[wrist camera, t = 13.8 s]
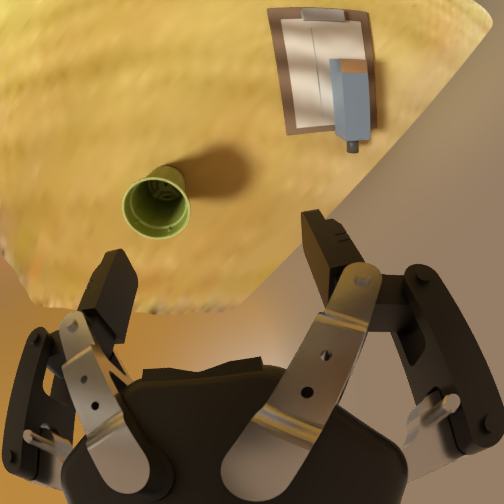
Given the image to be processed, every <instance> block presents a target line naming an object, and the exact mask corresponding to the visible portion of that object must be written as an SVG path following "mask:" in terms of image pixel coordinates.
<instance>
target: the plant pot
mask: <svg viewBox="0 0 504 504" xmlns="http://www.w3.org/2000/svg"><path fill="white" fill-rule="evenodd" d="M151 181H153V188H152V187H151ZM165 183H167V186H165V185H164V184H165ZM163 196H171V198H164V197H163ZM122 210H123V215H124V218H125V220H126V222H127V223H128V225H129V226H130V227H131V228H132V229H133V230H134V231H135V232H137V233H138V234H140V235H142V236H144V237H147V238H150V239H167V238H170V237H173V236H175V235H177V234H178V233H180V232H181V231H182V230H183V229H184V228H185V227H186V226H187V224H188V222H189V219H190V215H191V206H190V202H189V199H188V197H187V195H186V193H185V180H184V177H183V175H182V174H181V173H180V172H179V171H178V170H176V169H175V168H173V167H170V166H161V167H158V168H156V169H155V170H153V171H152V172H151V173H150V174H149V175H148V176H147V177H146V178H143V179H140V180H138V181H137V182H135V183H134V184H132V185H131V186H130V187H129V188H128V190H127V191H126V193H125V195H124V198H123V202H122Z"/></svg>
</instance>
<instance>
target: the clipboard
mask: <svg viewBox="0 0 504 504" xmlns="http://www.w3.org/2000/svg"><path fill="white" fill-rule="evenodd" d="M267 13H268V18H269V24H270V29H271V34H272V40H273V46H274V51H275V57H276V63H277V70H278V76H279V82H280V89H281V96H282V103H283V110H284V118H285V125H286V133H287V136H289V135H296V134H305V133H314V132H324V131H335V119H334V105H333V93H332V82H331V73H330V64H329V59H362V60H367V69H368V82H369V99H370V128H377V109H376V87H375V73H374V61H373V52H372V43H371V36H370V29H369V23H368V17H367V12H363V11H355V10H346V9H334V8H314V7H289V8H268V9H267Z"/></svg>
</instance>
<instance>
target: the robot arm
mask: <svg viewBox="0 0 504 504" xmlns="http://www.w3.org/2000/svg"><path fill="white" fill-rule="evenodd" d="M301 227H302V242H303V249H304V253H305V256H306V259H307V261H308V264H309V266H310V269H311V272H312V274H313V277H314V279H315V282H316V284H317V287H318V290H319V293H320V295H321V298H322V301H323V304H324V306H325V311H324V312H323V313H322V312H319V313H318V315H317V316H316V317H315V319H314V321H313V323H312V325H311V327H310V329H309V331H308V332H307V334H306V336H305V338H304V340H303V342H302V344H301V345H300V347H299V349H298V351H297V352H296V354H295V356H294V358H293V359H292V361H291V363H290V365H289V366H288V368H287V369H284V368H281V367H277V366H272V365H263V362H262V359H261V357H255V358H249V359H243V360H236V361H230V362H226V363H224V364H221V365H218V366H215V367H213V368H210V369H207V370H205V371H201V372H192V371H185V370H179V369H173V368H157V369H143V375H142V378H141V379H138V380H136V381H134V382H133V380H132V379H131V377H130V376H129V374H128V372H127V371H126V369H125V367H124V365H123V363H122V362H121V360H120V358H119V356H118V354H117V353H116V351H115V350H114V349H113V347H114V344H123V343H124V342H125V337H126V332H127V328H128V323H129V319H130V315H131V311H132V307H133V303H134V299H135V295H136V292H137V288H138V278H137V274H136V272H135V270H134V269H133V267H132V265H131V263H130V261H129V259H128V257H127V256H126V254H125V252H124V251H123V250H122V249H117V250H112V251H108V252H106V253H105V255H104V257H103V259H102V262H101V264H100V265H99V266H98V267H97V268H96V269H95V271H94V272H93V273H92V276H91V278H90V280H89V281H90V282H88V285H87V287H86V288H87V289H85V292H84V294H83V297H82V299H81V302H80V304H79V307H78V309H77V311H74V312H72V313H70V314H68V315H67V316H66V317H65V318H64V319H63V320H62V322H61V324H60V327H59V330H57V331H55V332H53V333H50V334H49V333H48V332H47V331H46V330H45V328H43V327H38V328H36V329H34V330H33V331H32V332H31V334H30V335H29V337H28V339H27V341H26V344H25V347H24V350H23V353H22V356H21V359H20V363H19V366H18V370H17V373H16V377H15V380H14V384H13V389H12V393H11V397H10V401H9V406H8V411H7V417H6V423H5V430H4V437H3V446H2V461H3V464H4V467H5V468H6V470H7V471H8V472H9V473H12V474H14V475H16V476H19V477H21V478H24V479H25V480H27V481H30V482H33V483H35V484H38V485H42V486H45V487H51V488H54V489H58V490H62V491H63V492H64V494H65V497H66V499H67V502H68V504H400V503H401V499H402V496H403V493H404V490H405V487H406V484H407V483H408V482H410V481H412V480H415V479H417V478H420V477H422V476H424V475H427V474H429V473H431V472H433V471H435V470H437V469H439V468H441V467H443V466H445V465H447V464H449V463H451V462H454V461H457V460H460V459H463V458H465V457H468V456H470V455H473V454H476V453H478V452H480V451H483V450H485V449H487V448H489V447H491V446H494V445H495V444H496V443H497V442H499V440H500V439H501V438H502V436H503V434H504V406H503V403H502V400H501V397H500V395H499V392H498V389H497V387H496V384H495V382H494V379H493V377H492V374H491V372H490V369H489V367H488V365H487V362H486V360H485V358H484V356H483V354H482V352H481V350H480V348H479V346H478V343H477V341H476V339H475V337H474V335H473V334H472V332H471V330H470V328H469V326H468V324H467V322H466V320H465V318H464V317H463V315H462V313H461V311H460V310H459V308H458V306H457V304H456V303H455V301H454V299H453V298H452V296H451V294H450V293H449V291H448V290H447V288H446V286H445V285H444V283H443V282H442V280H441V278H440V277H439V275H438V274H437V273H436V271H435V270H433V269H432V268H430V267H429V266H426V265H422V264H414V265H411V266H409V267H408V268H407V269H406V271H405V273H404V275H385V274H381V272H380V271H379V269H378V268H376V267H375V266H373V265H371V264H369V263H365V261H364V259H363V258H362V256H361V255H360V253H359V251H358V250H357V248H356V247H355V245H354V243H353V242H352V240H351V239H350V237H349V235H348V234H347V233H346V231H345V229H344V228H343V226H342V225H341V224H340V223H338V222H337V221H335V220H334V219H328V220H325V218H324V217H323V215H322V214H321V212H320V210H319V209H316V210H310V211H305V212H301ZM370 331H371V332H390V333H391V335H392V338H393V340H394V343H395V345H396V348H397V350H398V353H399V356H400V359H401V361H402V364H403V367H404V370H405V373H406V376H407V379H408V382H409V385H410V388H411V391H412V394H413V397H414V400H415V404H416V407H415V408H414V409H413V410H412V411H411V412H410V414H409V416H408V419H407V437H406V440H405V442H404V444H403V446H402V447H401V448H399V447H398V446H397V445H396V444H395V443H394V442H392V441H391V440H389V439H388V438H386V437H385V436H383V435H382V434H380V433H379V432H377V431H375V430H374V429H373V428H371V427H370V426H368V425H367V424H365V423H364V422H362V421H361V420H359V419H358V418H356V417H355V416H353V415H352V414H351V413H349V412H348V411H346V410H345V409H343V408H342V407H341V406H339V403H340V401H341V399H342V397H343V395H344V392H345V390H346V388H347V385H348V383H349V381H350V378H351V376H352V373H353V370H354V368H355V366H356V363H357V360H358V358H359V355H360V353H361V350H362V348H363V345H364V342H365V339H366V337H367V334H368V332H370ZM46 367H47V368H48V369H49V370H50V371H51V372H52V373H54V374H55V375H54V379H53V384H52V389H51V394H50V396H48V395H47V394H46V393H45V392H44V390H43V379H44V375H45V371H46ZM75 412H77V414H78V417H79V419H80V422H81V424H82V426H83V428H84V431H85V433H86V434H85V435H84V437H83V438H82V439H81V440H80V442H79V443H78V444H77V445H76V447H75V448H74V449H73V447H72V444H73V431H74V421H75Z"/></svg>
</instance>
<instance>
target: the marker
mask: <svg viewBox="0 0 504 504" xmlns="http://www.w3.org/2000/svg"><path fill="white" fill-rule="evenodd" d="M329 64H330V73H331V82H332V93H333V105H334V119H335V134H336V135H337V136H339V137H340V138H342V139H343V140H345V141H347V152H348V153H358V152H359V144H358V140H370V99H369V82H368V69H367V60H362V59H329Z"/></svg>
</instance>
